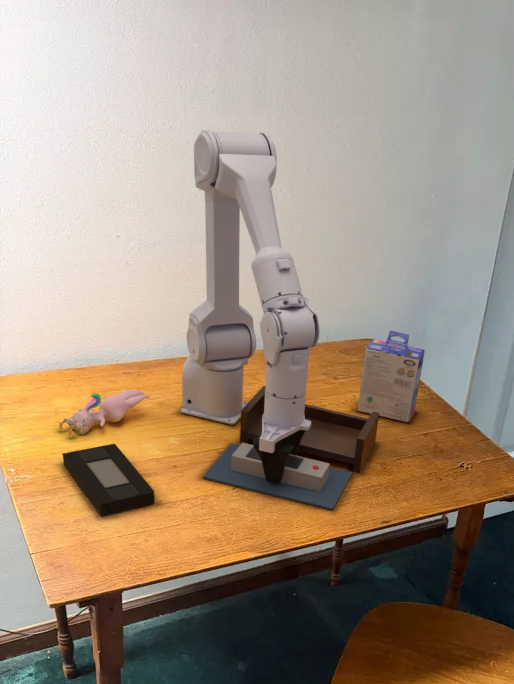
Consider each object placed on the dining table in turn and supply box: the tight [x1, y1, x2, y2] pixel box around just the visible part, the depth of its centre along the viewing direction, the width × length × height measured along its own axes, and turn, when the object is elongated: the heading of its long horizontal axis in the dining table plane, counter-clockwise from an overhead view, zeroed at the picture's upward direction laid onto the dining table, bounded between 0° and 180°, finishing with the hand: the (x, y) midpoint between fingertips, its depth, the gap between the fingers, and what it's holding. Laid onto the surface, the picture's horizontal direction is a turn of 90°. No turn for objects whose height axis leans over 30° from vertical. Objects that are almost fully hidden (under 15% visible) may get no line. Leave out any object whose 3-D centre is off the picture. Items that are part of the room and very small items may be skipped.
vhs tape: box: [62, 443, 156, 517], centre depth 111 cm, size 8×14×2 cm, turn 37°
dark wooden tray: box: [239, 385, 380, 474], centre depth 127 cm, size 20×10×6 cm, turn 78°
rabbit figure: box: [58, 389, 150, 439], centre depth 123 cm, size 6×6×15 cm
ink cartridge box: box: [356, 330, 426, 423], centre depth 139 cm, size 10×6×14 cm, turn 78°
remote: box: [231, 443, 331, 492], centre depth 119 cm, size 14×4×3 cm, turn 78°
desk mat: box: [202, 442, 353, 511], centre depth 120 cm, size 20×11×1 cm, turn 78°
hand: (280, 471), depth 119 cm, fingers open, 5 cm apart
